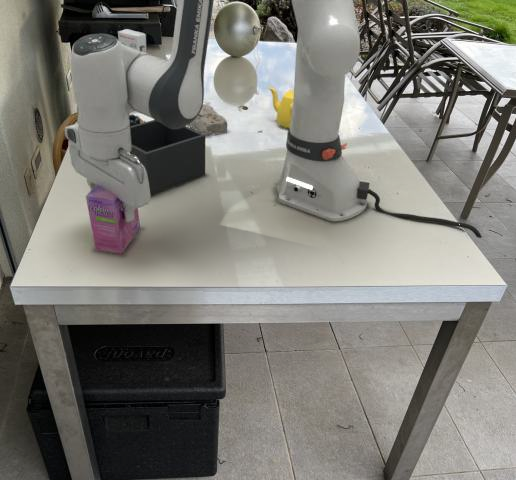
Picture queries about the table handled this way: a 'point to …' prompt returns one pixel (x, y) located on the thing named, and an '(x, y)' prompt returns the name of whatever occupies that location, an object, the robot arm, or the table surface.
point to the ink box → (133, 39)
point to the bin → (168, 154)
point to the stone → (209, 121)
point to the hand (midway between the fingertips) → (113, 209)
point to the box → (110, 221)
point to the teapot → (283, 107)
